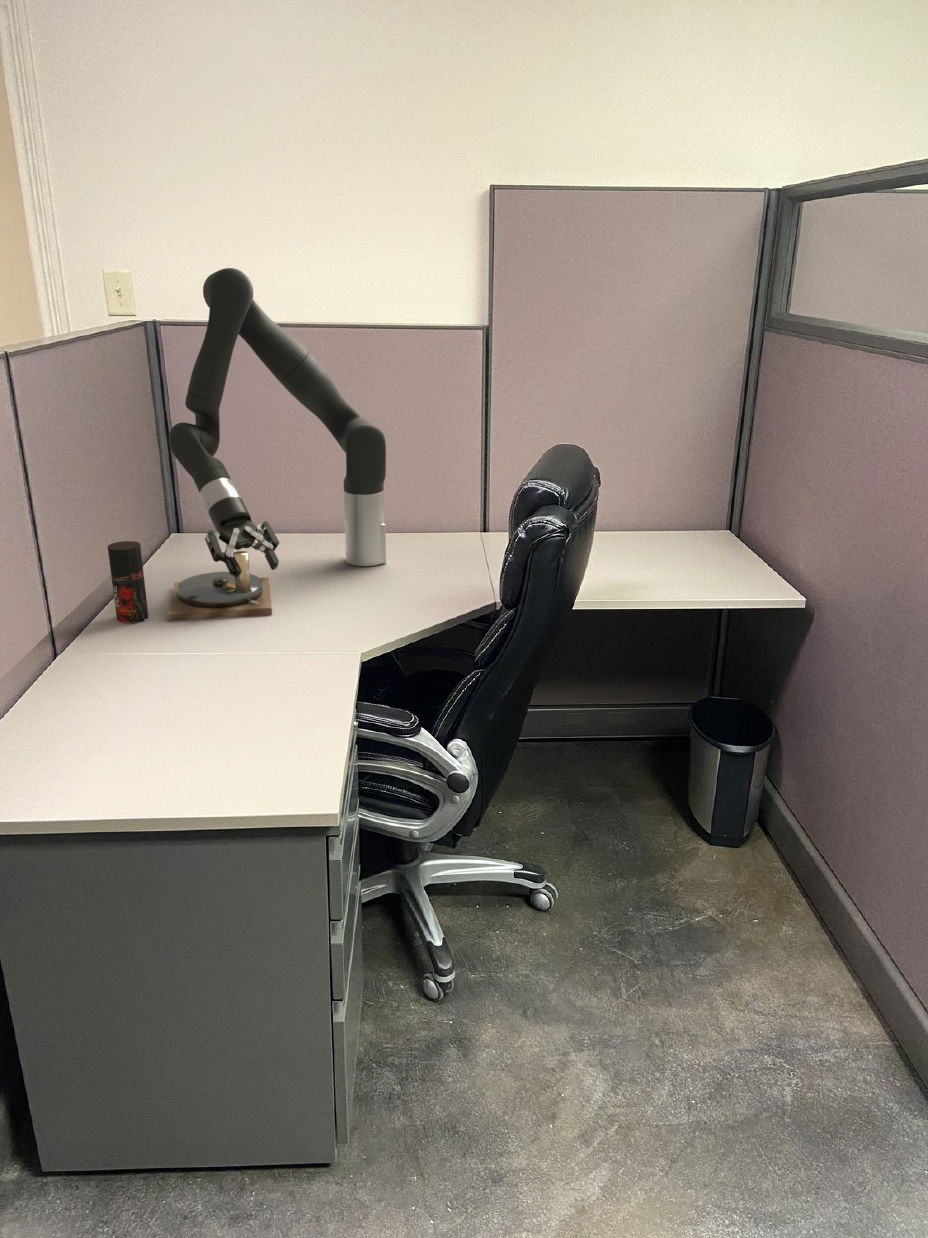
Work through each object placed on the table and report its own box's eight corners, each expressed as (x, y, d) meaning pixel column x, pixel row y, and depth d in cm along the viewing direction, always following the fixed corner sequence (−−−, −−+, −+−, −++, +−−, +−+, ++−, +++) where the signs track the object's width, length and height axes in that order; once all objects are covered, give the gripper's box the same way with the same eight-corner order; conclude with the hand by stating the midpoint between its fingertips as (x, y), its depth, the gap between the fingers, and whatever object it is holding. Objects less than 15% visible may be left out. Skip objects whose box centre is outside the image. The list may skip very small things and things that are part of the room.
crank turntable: (264, 578, 200) (261, 534, 196) (261, 605, 184) (257, 557, 181) (183, 581, 197) (179, 537, 194) (173, 608, 182) (168, 560, 178)
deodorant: (155, 616, 183) (146, 543, 177) (133, 625, 178) (124, 551, 172) (132, 611, 185) (123, 539, 180) (110, 620, 180) (100, 547, 175)
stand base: (269, 583, 203) (268, 575, 202) (272, 614, 184) (271, 606, 184) (175, 588, 198) (174, 580, 198) (168, 621, 180) (167, 612, 180)
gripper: (198, 499, 182) (231, 568, 178) (261, 490, 191) (293, 555, 187) (188, 520, 187) (219, 587, 183) (249, 510, 196) (281, 574, 193)
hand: (257, 571), depth 185 cm, fingers open, 8 cm apart
